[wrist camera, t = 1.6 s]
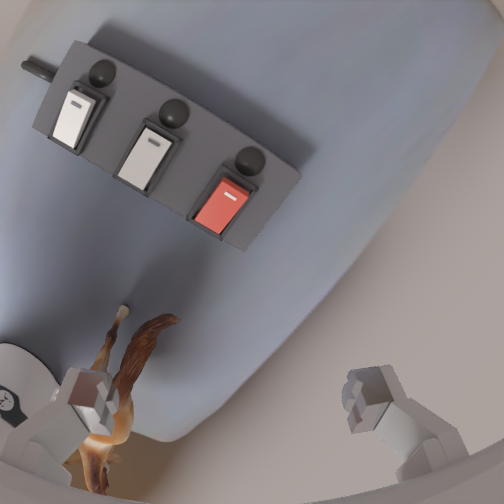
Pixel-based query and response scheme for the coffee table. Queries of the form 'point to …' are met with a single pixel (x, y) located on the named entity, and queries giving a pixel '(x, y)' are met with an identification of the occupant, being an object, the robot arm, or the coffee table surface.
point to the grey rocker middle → (144, 159)
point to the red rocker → (221, 205)
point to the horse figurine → (132, 364)
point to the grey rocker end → (73, 118)
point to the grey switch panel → (172, 129)
